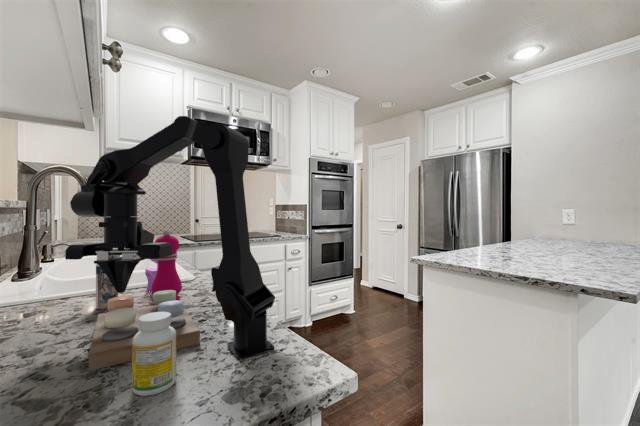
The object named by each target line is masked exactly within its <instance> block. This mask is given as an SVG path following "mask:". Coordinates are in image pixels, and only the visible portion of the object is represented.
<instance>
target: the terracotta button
mask: <svg viewBox="0 0 640 426" xmlns="http://www.w3.org/2000/svg"><path fill="white" fill-rule="evenodd" d="M134 301H135V299H134V296H133V295H118V297H114V298H111V299H109V300H108V309H107V311H108V312H109V311H112V310H116V309H121V308H134V307H135V305H134V304H135V303H134Z"/></svg>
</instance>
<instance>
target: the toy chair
mask: <svg viewBox="0 0 640 426" xmlns="http://www.w3.org/2000/svg"><path fill="white" fill-rule="evenodd" d="M176 253H177V254H178V250H177V251H176ZM149 260H150V261H151V262H153V263H155V264H156V267H150V268H149V267H147V268H145V272H144V274H145V276H146V280H147V287H146V289H145V293H149V292H148V291H151V287H152V283H153V281H154V279H155V276H156V274H157V270H158V260H156V259H149Z"/></svg>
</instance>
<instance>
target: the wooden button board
mask: <svg viewBox="0 0 640 426" xmlns="http://www.w3.org/2000/svg"><path fill="white" fill-rule="evenodd" d="M134 309H135V322H134V323H132V324H130V325H127V326H123V327H117V328H108V327H106V326H105V314H106V313H107V312H103V313H98V315H97V319H96V322H95V323H96V324H95V327H94V332H93V336H92V340H91V343H90V348H89V352H88V372H90V371H93V370H98V369H101V368H102V369H103V368H106V367H111V366H115V365H118V364H119V365H120V364H124V363H128V362H132V341H133V338H134V336H135V335H136V334H137V333H138V332H139V331H141V330H139V328H138V319H139V317H141V316H143V315H145V314H148V313H153V312H158V305H154V306H153V305H150V306H149V305H147V306H142V307H137V308H136V307H135V308H134ZM169 326H171V327H173V328H174V329H175V331H176V351H177V350H181V349H185V348H188V347H192V346H197V345H200V344H201V330H200V328H199V327H198V326H197V324H196V322H195V321H194V319H193V318H192V317H191V315H190V314H189V312H188V311H187V309H186V307H184V313H183V314H182V315H180V316H177V317H172V318H171V324H170V325H169Z"/></svg>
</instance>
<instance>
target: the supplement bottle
mask: <svg viewBox="0 0 640 426" xmlns="http://www.w3.org/2000/svg"><path fill="white" fill-rule="evenodd" d="M170 324H171V313H169V312H153V313H148V314H145V315H143V316H141V317H139V319H138V328H139V330H141V331H139V332H138V333H137V334H136V335H135V336H134V338H133V341H132V361H131V365H132V370H131V374H132V375H131V377H132V378H131V379H132V381H131V382H132V383H131V384H132V391H133V393H134V394H135V395H138V396H143V397H145V396H146V397H147V396H153V395H154V396H155V395H157V394H159V393H162V392H164V391H166V390H168V389H169V388H171V386H173V385H174V383H175V382H176V380H177V350H176V331H175V329H174V328H173V327H171V326H169V325H170Z"/></svg>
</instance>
